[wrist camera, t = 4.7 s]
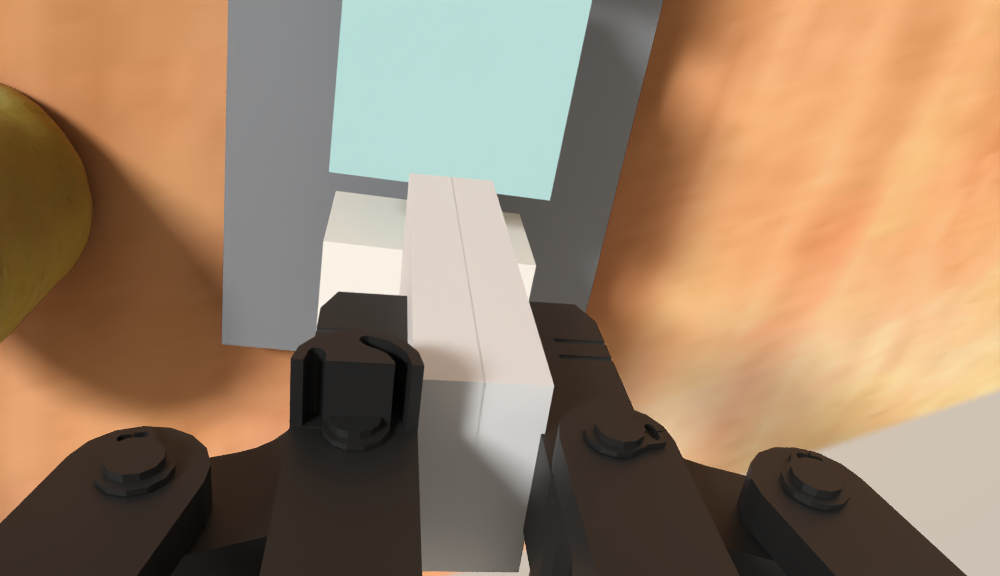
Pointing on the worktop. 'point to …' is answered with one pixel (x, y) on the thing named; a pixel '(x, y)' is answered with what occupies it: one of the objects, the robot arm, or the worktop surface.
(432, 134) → the teal key
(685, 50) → the worktop surface
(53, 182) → the mug
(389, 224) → the ivory key
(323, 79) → the console
